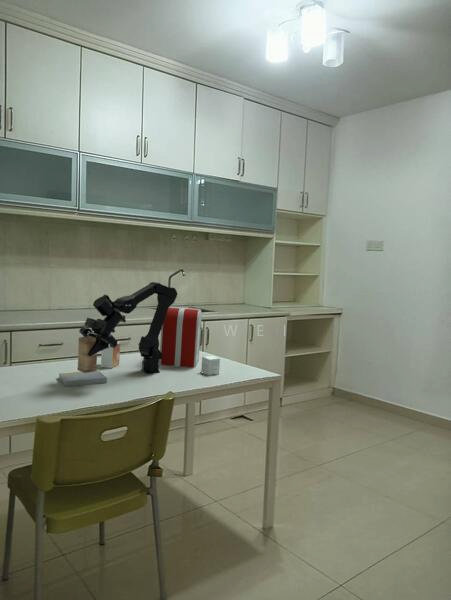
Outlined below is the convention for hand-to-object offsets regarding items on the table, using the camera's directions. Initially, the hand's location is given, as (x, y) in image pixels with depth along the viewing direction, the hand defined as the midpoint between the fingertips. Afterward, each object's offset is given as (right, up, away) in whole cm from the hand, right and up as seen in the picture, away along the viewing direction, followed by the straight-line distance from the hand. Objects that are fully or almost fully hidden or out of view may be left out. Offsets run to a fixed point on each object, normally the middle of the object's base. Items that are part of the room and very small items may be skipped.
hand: (84, 354), depth 176 cm
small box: (+2, -9, +33) cm, 34 cm away
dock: (-3, -11, +8) cm, 14 cm away
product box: (+47, -13, +33) cm, 59 cm away
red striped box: (+32, -10, +49) cm, 59 cm away
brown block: (0, -7, +2) cm, 7 cm away
